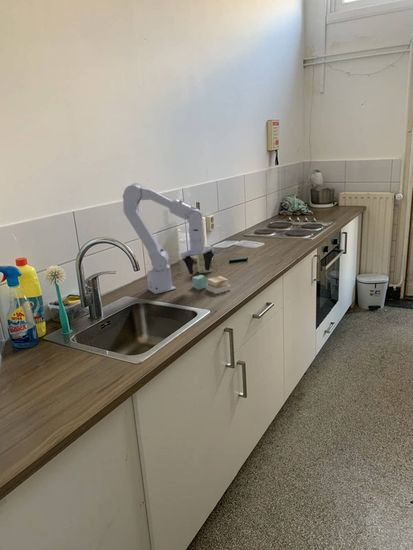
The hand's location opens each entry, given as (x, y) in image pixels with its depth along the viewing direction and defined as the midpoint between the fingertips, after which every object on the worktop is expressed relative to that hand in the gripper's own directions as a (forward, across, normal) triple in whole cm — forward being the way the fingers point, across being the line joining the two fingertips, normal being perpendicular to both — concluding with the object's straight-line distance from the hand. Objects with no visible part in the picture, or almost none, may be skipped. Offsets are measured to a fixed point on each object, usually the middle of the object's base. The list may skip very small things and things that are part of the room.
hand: (199, 271), depth 170 cm
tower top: (+5, +4, -8) cm, 10 cm away
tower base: (+7, +4, -8) cm, 11 cm away
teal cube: (+7, 0, 0) cm, 7 cm away
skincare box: (+7, +13, +18) cm, 23 cm away
